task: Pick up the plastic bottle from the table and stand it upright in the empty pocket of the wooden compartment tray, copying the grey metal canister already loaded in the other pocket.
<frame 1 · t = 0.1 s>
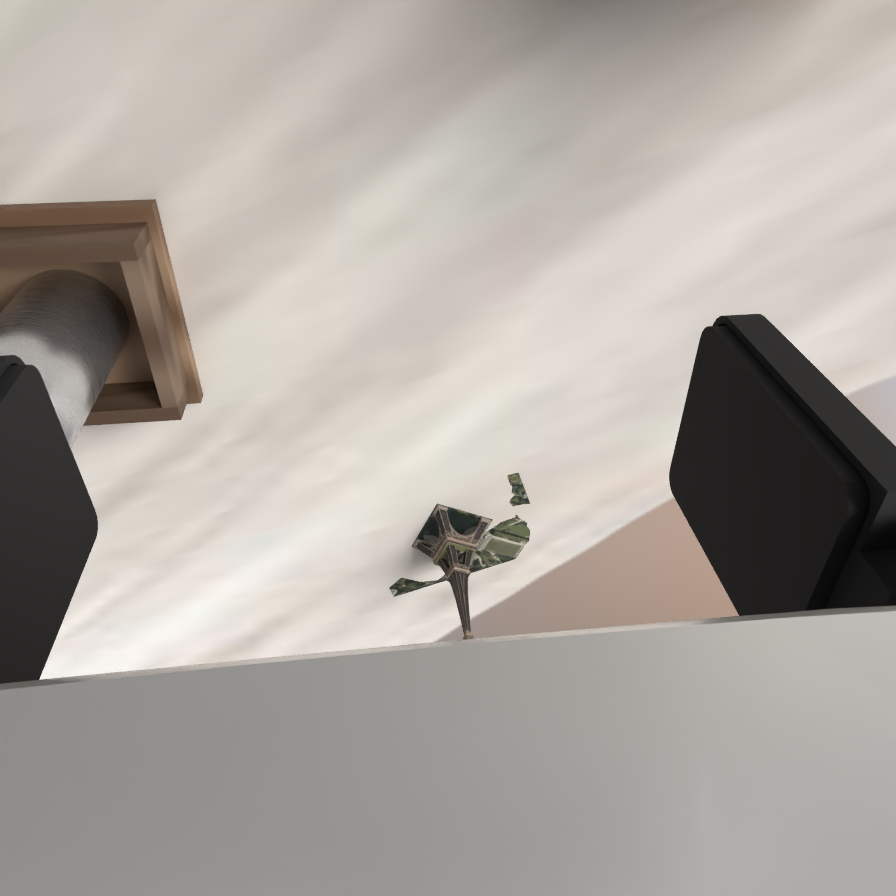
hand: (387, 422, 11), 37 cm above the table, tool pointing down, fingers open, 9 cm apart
grey metal canister: (74, 317, 46), point 1 cm above the table, touching wooden compartment tray
eiffel tower figurine: (450, 531, 64), on the table
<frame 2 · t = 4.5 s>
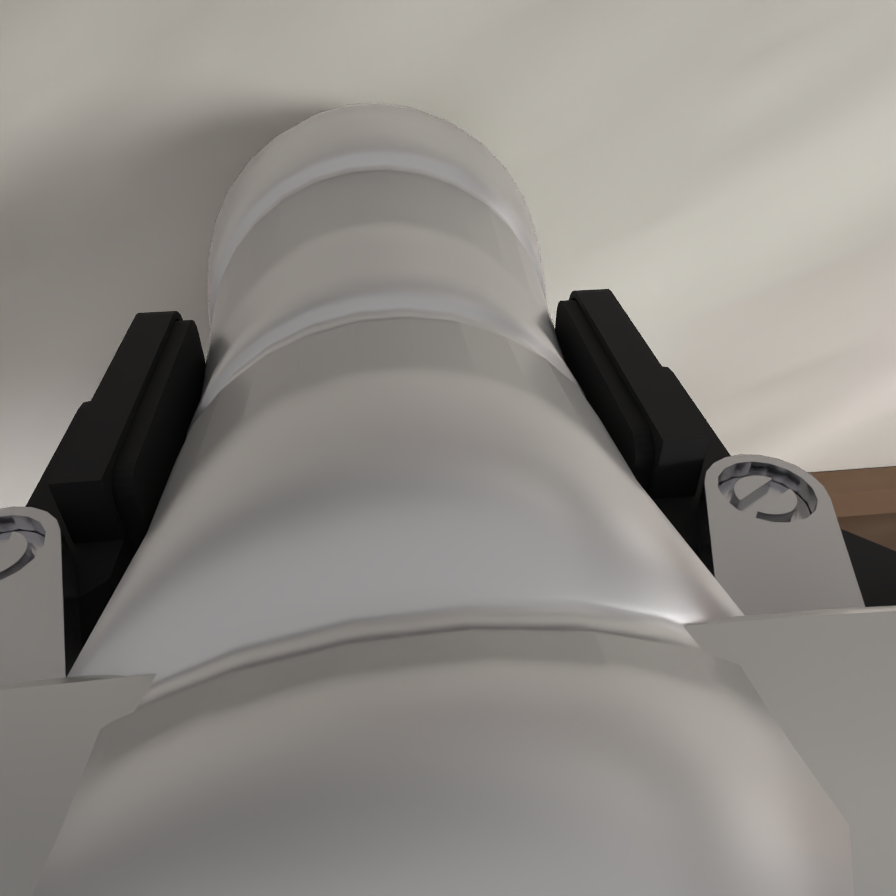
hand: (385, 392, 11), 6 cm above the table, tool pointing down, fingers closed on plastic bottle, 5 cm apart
plastic bottle: (374, 235, 17), on the table, touching gripper
wooden compartment tray: (569, 638, 26), on the table
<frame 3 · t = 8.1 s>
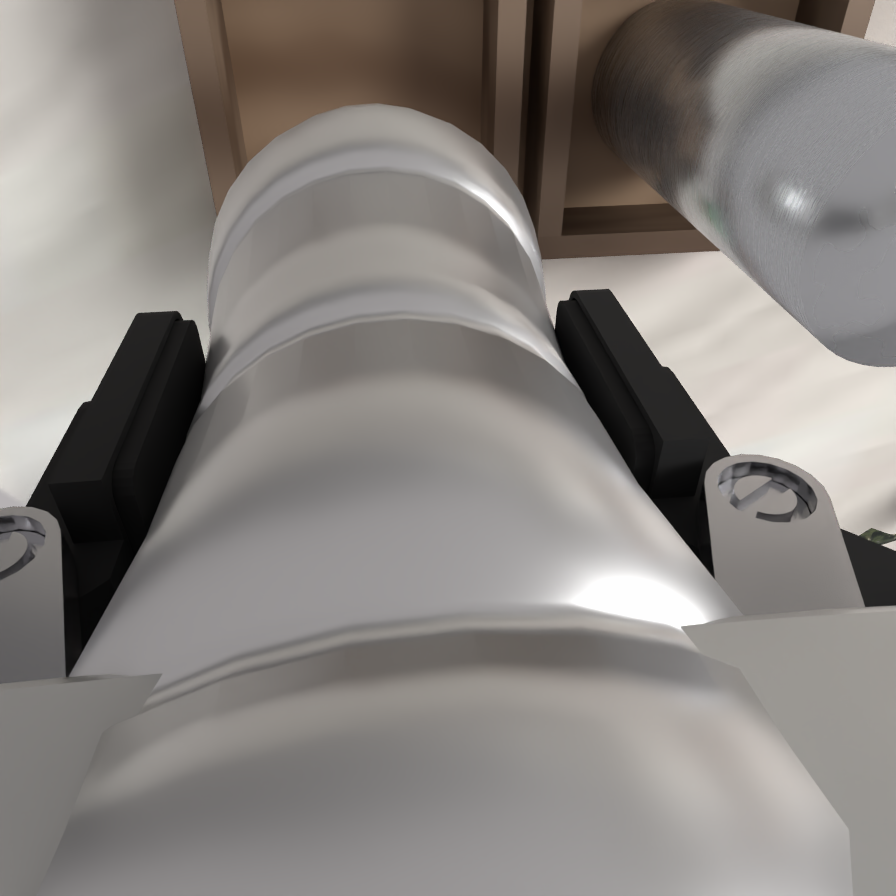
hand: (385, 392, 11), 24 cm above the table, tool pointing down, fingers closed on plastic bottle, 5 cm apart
grey metal canister: (667, 86, 31), point 1 cm above the table, touching wooden compartment tray
plastic bottle: (373, 236, 17), point 17 cm above the table, touching gripper
wooden compartment tray: (512, 86, 31), on the table
when the fingers open (9 cm above the table, at t = 11.7 s): plastic bottle drops 1 cm, resting on wooden compartment tray.
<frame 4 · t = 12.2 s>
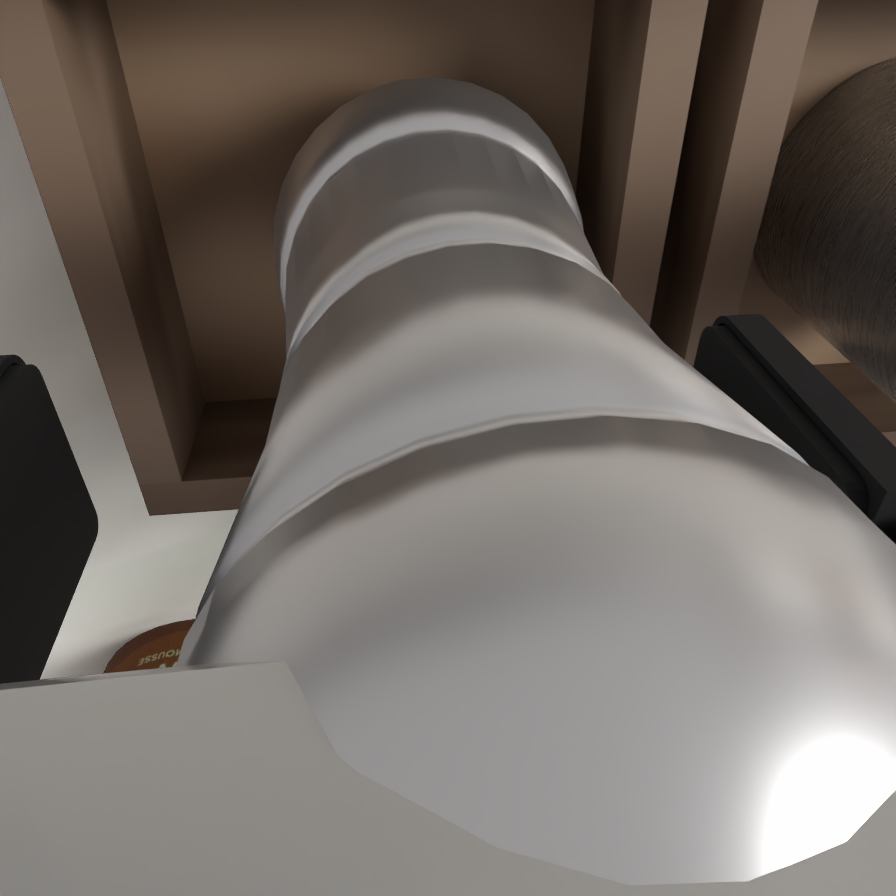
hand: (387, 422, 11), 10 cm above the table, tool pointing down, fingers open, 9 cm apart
grey metal canister: (877, 196, 19), point 1 cm above the table, touching wooden compartment tray
plastic bottle: (418, 205, 18), point 1 cm above the table, touching wooden compartment tray
food container: (208, 646, 28), on the table
wooden compartment tray: (620, 193, 19), on the table
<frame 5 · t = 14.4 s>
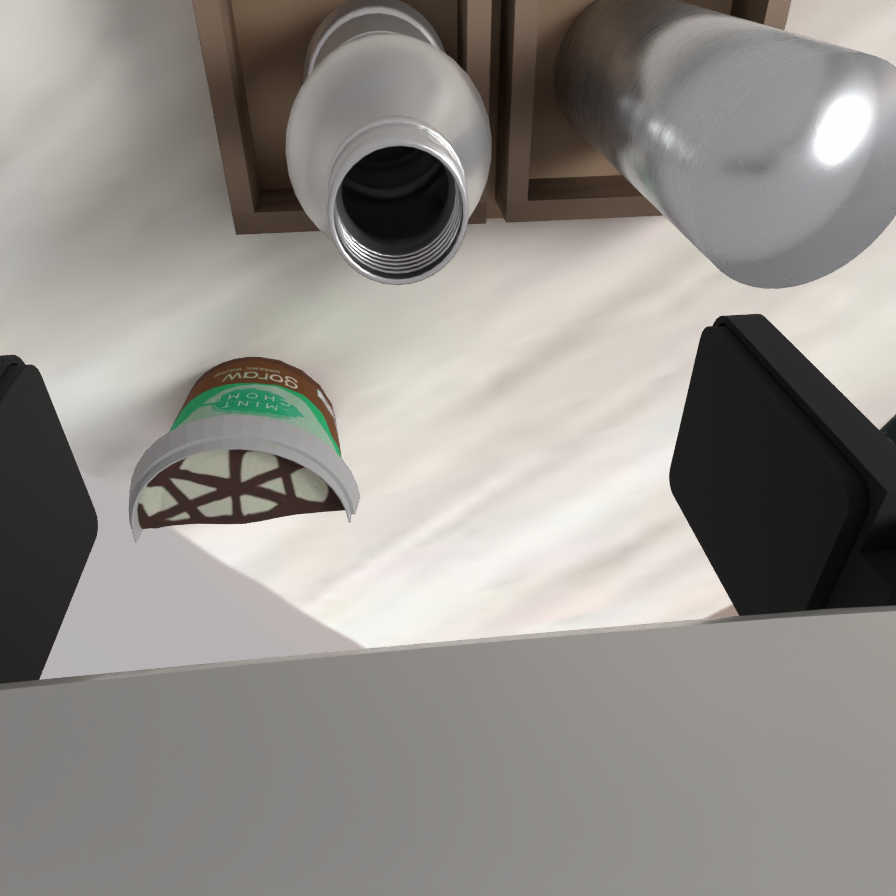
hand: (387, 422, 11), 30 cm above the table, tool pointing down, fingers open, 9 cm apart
grey metal canister: (620, 70, 35), point 1 cm above the table, touching wooden compartment tray
plastic bottle: (375, 72, 34), point 1 cm above the table, touching wooden compartment tray
food container: (253, 382, 45), on the table
wooden compartment tray: (485, 69, 35), on the table
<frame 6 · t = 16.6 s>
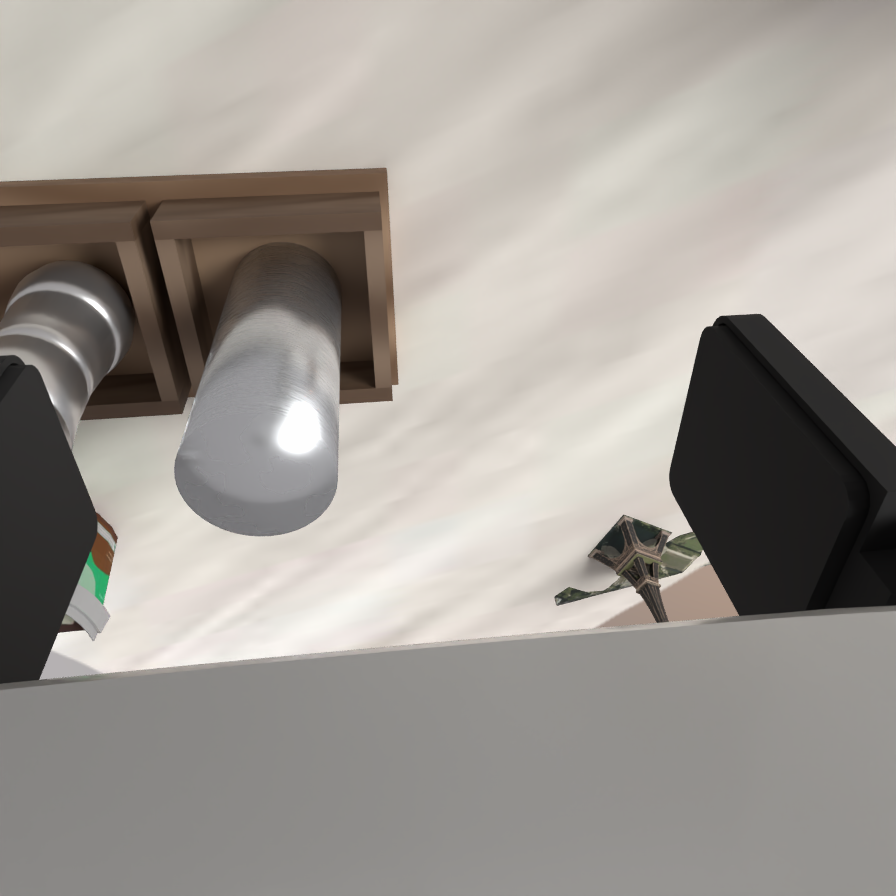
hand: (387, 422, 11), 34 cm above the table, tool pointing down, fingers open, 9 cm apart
grey metal canister: (287, 293, 44), point 1 cm above the table, touching wooden compartment tray
plastic bottle: (87, 300, 43), point 1 cm above the table, touching wooden compartment tray
eiffel tower figurine: (625, 542, 63), on the table
food container: (41, 512, 54), on the table
wooden compartment tray: (182, 292, 45), on the table
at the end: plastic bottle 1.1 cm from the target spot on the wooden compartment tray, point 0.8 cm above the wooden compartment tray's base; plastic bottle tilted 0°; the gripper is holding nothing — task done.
